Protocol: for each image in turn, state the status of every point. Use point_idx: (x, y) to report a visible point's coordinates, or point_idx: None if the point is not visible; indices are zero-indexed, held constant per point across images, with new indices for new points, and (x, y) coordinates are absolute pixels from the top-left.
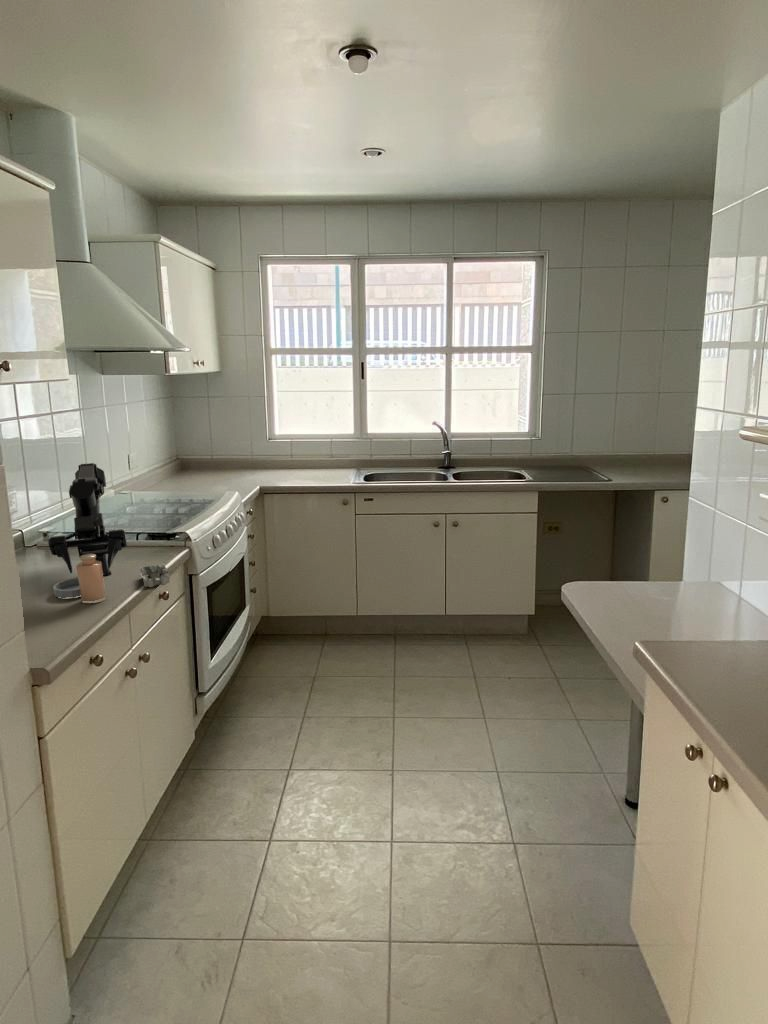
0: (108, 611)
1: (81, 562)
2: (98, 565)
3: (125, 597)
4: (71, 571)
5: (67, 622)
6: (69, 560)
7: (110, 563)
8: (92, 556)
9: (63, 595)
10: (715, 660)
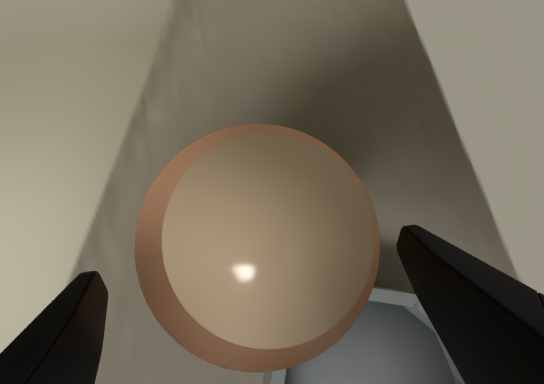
0: (159, 82)
1: (355, 319)
2: (158, 177)
3: (96, 242)
4: (401, 228)
5: (302, 19)
6: (484, 288)
7: (59, 303)
8: (202, 191)
9: (399, 290)
10: None
